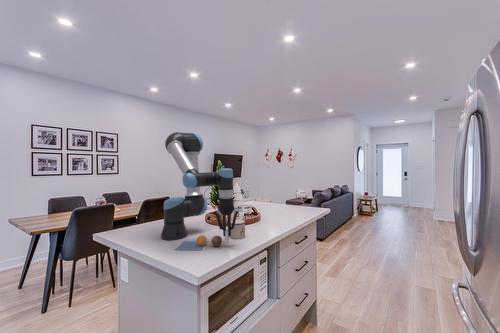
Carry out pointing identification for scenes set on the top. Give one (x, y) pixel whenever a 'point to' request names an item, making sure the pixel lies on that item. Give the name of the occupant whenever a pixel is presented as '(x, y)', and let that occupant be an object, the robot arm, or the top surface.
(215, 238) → the walnut ball
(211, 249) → the top surface
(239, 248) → the top surface
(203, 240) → the orange ball
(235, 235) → the teacup with lid
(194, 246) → the mark
